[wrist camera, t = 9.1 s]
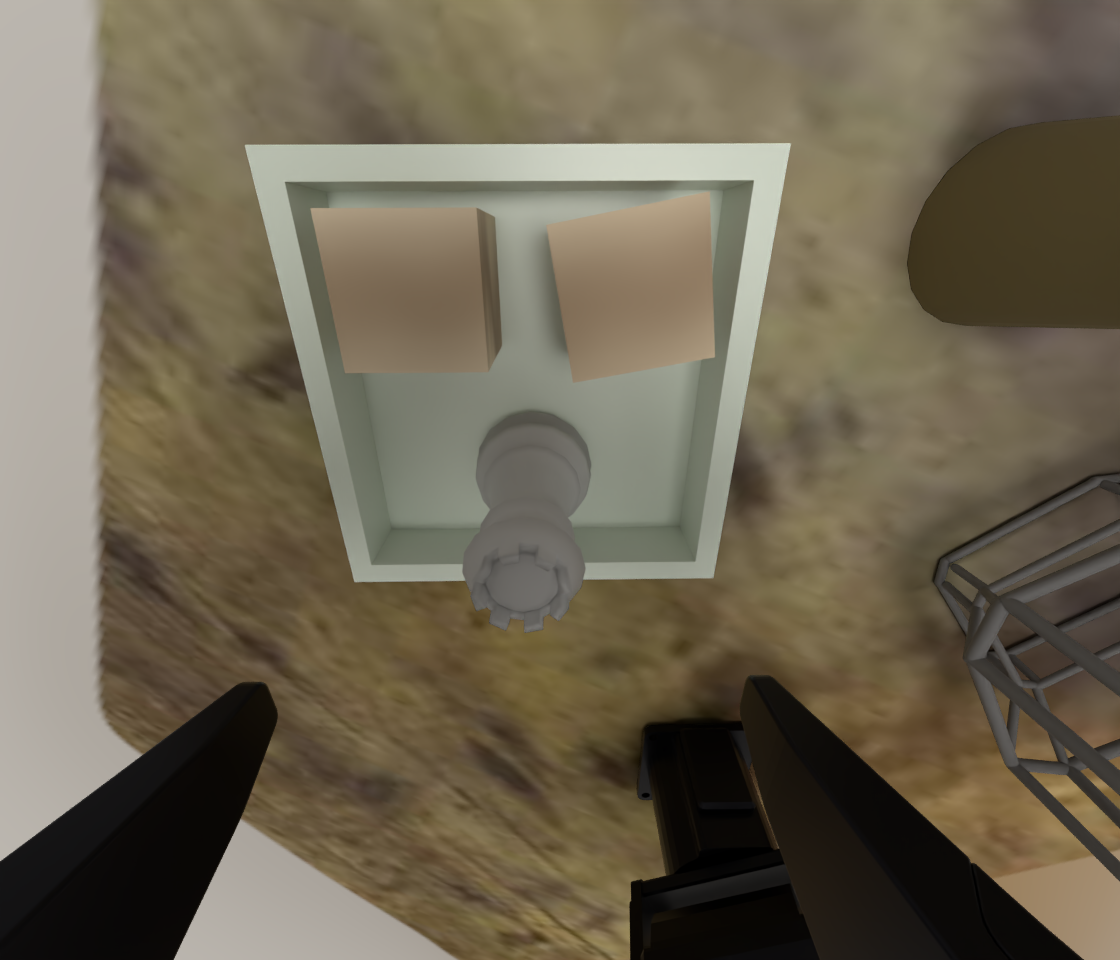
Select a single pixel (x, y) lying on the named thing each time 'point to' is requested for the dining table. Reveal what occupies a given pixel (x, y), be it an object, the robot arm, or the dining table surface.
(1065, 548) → the geometric lantern
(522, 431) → the rook chess piece
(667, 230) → the beech block
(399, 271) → the beech block
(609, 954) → the dining table surface
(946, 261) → the cork
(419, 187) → the tray
